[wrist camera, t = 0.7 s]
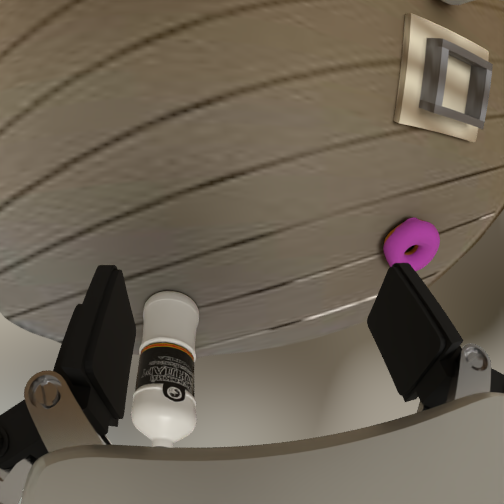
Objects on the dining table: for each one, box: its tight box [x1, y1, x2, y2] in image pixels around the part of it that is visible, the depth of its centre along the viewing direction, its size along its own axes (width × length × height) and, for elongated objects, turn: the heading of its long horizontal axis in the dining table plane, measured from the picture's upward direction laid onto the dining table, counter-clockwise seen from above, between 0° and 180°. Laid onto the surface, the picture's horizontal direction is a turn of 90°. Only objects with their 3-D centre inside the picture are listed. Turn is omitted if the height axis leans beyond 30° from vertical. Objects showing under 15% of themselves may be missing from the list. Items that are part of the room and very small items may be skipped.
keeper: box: [394, 13, 493, 143], centre depth 30 cm, size 16×16×5 cm
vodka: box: [131, 291, 199, 448], centre depth 37 cm, size 9×9×30 cm
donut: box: [384, 218, 440, 271], centre depth 45 cm, size 10×10×5 cm
